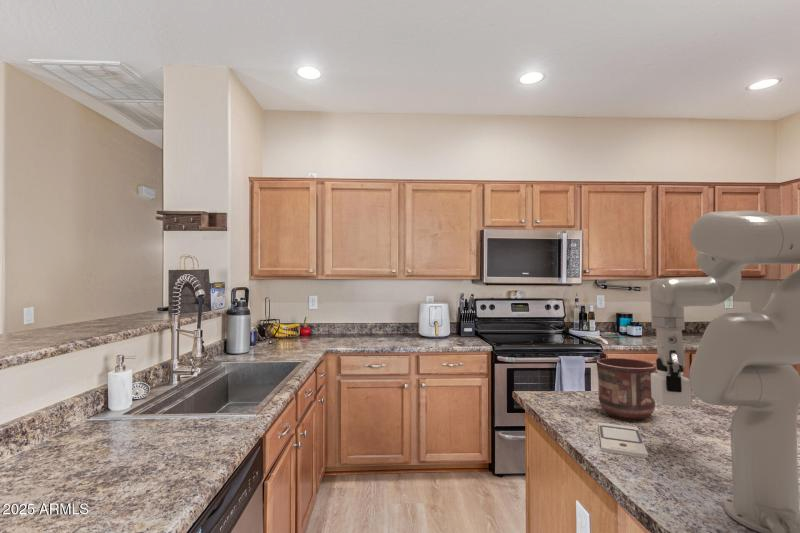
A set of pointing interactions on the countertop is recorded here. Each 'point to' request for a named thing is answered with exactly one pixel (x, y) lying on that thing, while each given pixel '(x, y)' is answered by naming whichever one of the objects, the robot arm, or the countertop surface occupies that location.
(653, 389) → the medicine bottle
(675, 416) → the countertop surface
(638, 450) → the board
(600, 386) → the pottery
